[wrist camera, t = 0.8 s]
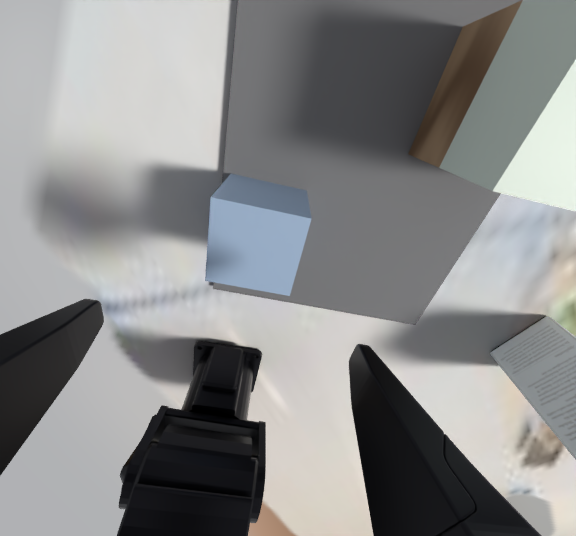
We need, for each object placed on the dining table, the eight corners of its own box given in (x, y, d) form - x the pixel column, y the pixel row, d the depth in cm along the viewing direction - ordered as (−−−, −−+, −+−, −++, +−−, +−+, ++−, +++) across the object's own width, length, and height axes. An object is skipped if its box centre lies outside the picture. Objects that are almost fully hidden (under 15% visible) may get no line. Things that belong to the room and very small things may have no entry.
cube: (290, 255, 20) (289, 295, 16) (224, 242, 19) (205, 280, 15) (306, 190, 17) (311, 218, 13) (230, 173, 17) (210, 197, 13)
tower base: (495, 176, 17) (547, 194, 13) (408, 154, 16) (439, 167, 13) (568, 59, 14) (659, 45, 10) (462, 26, 13) (523, -1, 10)
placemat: (413, 321, 24) (415, 324, 24) (214, 285, 22) (213, 288, 22) (667, -75, 12) (678, -81, 11) (260, -235, 10) (259, -247, 9)
